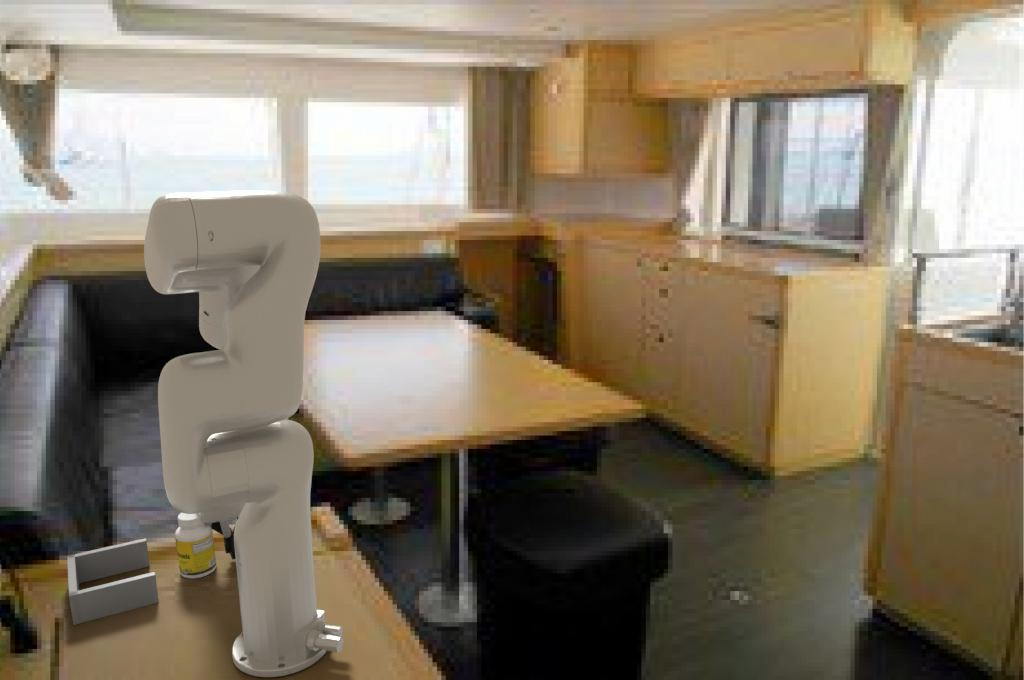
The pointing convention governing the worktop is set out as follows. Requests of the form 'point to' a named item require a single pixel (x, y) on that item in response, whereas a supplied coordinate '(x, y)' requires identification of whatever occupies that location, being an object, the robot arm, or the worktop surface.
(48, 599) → the worktop surface
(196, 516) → the supplement bottle
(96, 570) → the box
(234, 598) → the worktop surface
